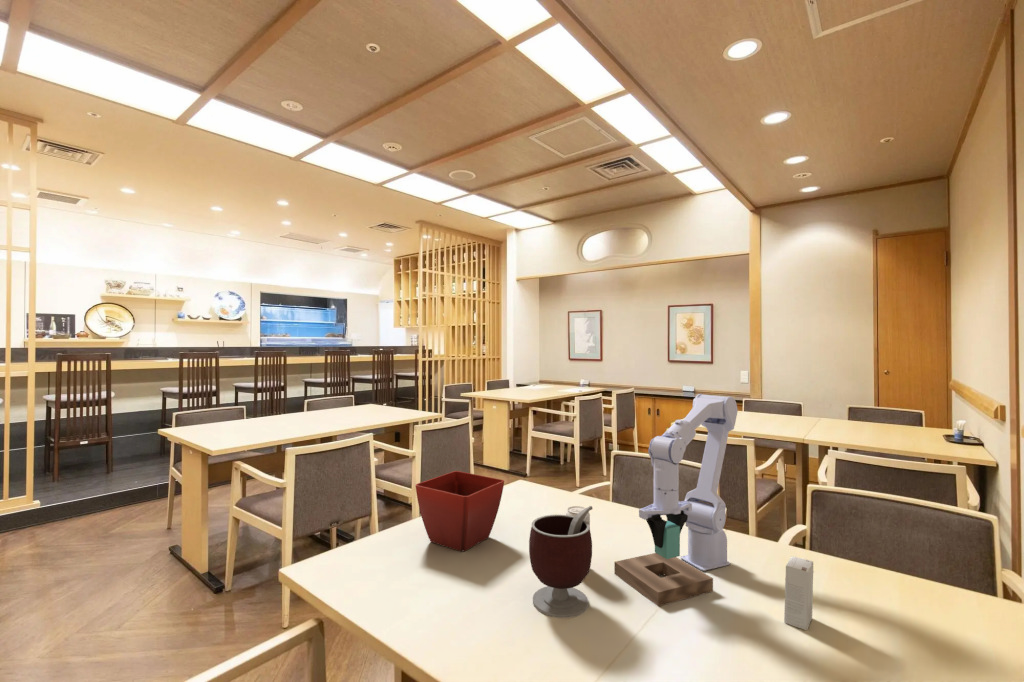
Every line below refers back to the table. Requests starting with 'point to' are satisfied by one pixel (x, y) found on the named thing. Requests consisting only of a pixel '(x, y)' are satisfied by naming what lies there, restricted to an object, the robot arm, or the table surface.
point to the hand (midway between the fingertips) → (665, 544)
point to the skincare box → (798, 592)
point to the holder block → (663, 578)
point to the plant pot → (459, 508)
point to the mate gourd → (560, 562)
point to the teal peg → (670, 541)
